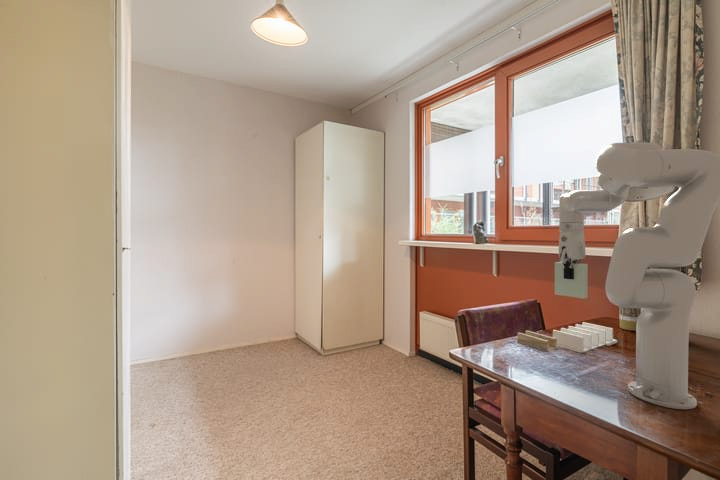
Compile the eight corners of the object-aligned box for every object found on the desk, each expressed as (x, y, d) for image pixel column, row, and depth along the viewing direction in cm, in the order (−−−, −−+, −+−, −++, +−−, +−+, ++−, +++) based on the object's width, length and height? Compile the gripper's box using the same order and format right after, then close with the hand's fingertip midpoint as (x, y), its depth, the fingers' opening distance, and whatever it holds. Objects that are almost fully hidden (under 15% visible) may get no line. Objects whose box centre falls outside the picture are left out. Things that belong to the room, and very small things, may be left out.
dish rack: (580, 355, 109) (581, 339, 109) (548, 345, 119) (548, 330, 118) (617, 342, 121) (617, 327, 121) (584, 334, 131) (584, 321, 131)
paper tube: (641, 329, 139) (641, 269, 138) (640, 332, 134) (640, 271, 133) (620, 325, 143) (621, 268, 143) (618, 329, 138) (619, 269, 138)
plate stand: (547, 353, 111) (547, 342, 111) (515, 343, 121) (515, 332, 121) (559, 350, 114) (559, 338, 114) (526, 340, 125) (526, 329, 125)
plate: (584, 298, 115) (584, 264, 115) (554, 294, 123) (554, 262, 123) (587, 298, 116) (587, 264, 116) (558, 293, 125) (558, 262, 124)
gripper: (570, 227, 112) (570, 281, 112) (593, 227, 120) (593, 278, 121) (548, 227, 118) (548, 279, 119) (571, 228, 127) (571, 275, 127)
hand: (570, 278), depth 120 cm, fingers closed on plate, 2 cm apart
